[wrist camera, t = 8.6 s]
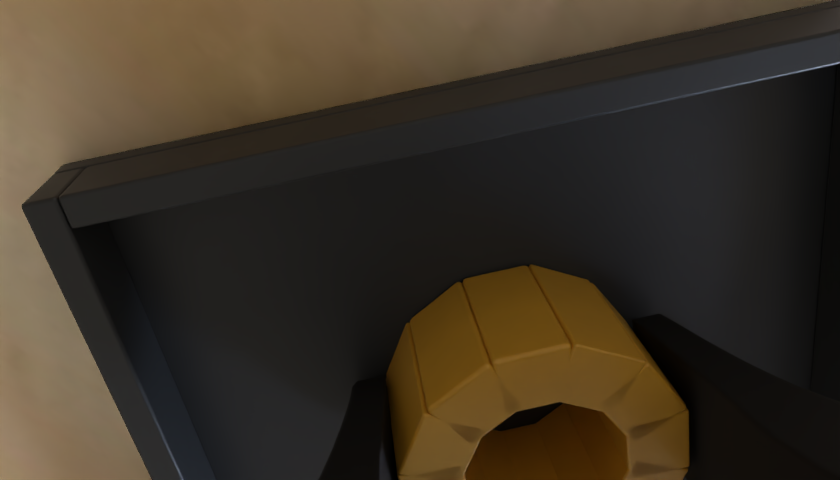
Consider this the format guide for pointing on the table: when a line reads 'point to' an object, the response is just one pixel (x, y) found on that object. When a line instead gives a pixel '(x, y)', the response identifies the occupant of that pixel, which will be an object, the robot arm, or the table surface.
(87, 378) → the table surface
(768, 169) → the tray
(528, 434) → the mustard ring
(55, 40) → the table surface
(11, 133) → the table surface
